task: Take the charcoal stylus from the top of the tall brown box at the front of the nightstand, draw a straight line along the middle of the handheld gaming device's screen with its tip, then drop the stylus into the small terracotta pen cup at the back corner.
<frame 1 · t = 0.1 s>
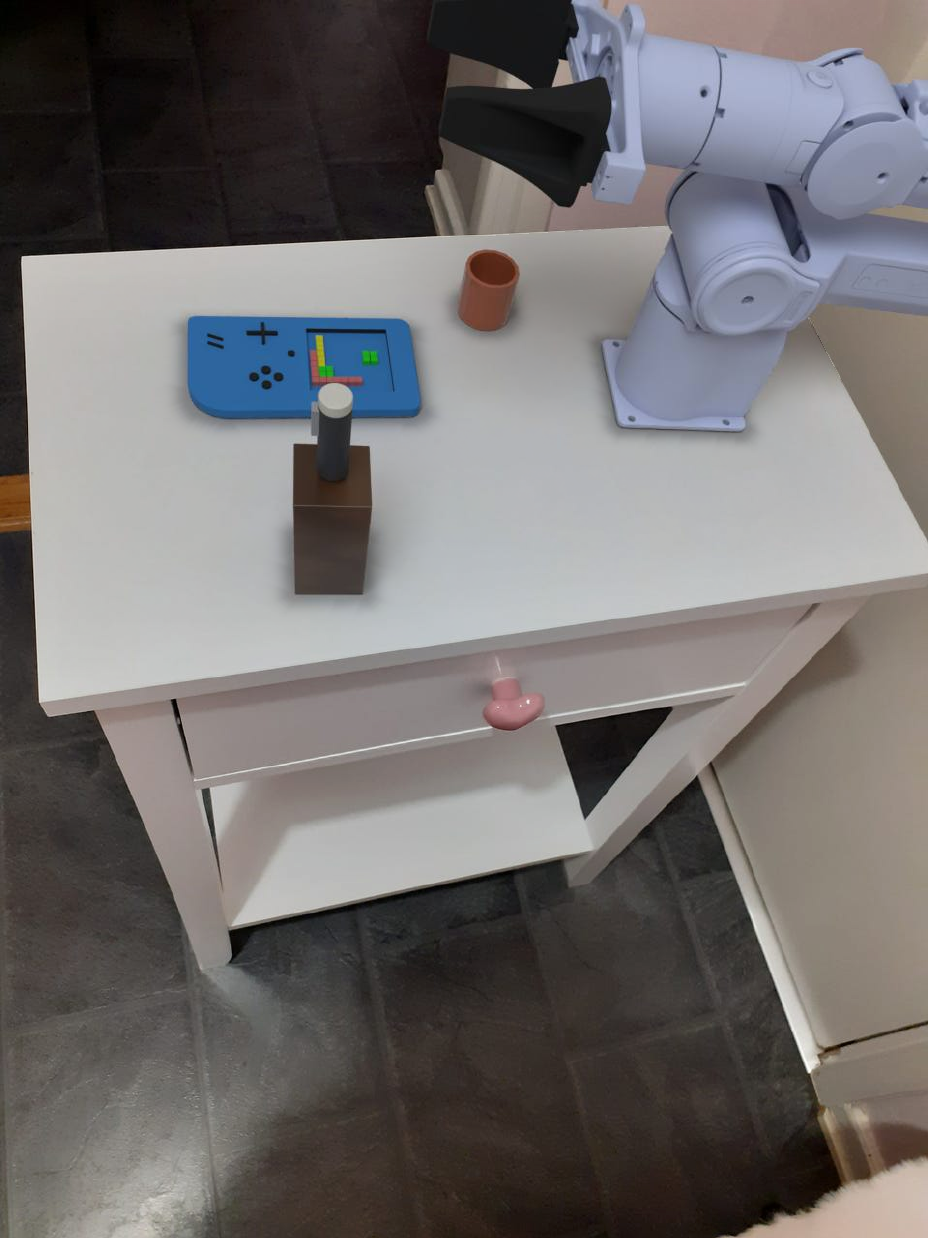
hand: (436, 63, 45), 22 cm above the table, tool horizontal, fingers open, 7 cm apart
pen cup: (483, 312, 68), on the table
stylus: (332, 474, 48), point 9 cm above the table, touching tall brown box
handheld gaming device: (304, 372, 63), on the table
tall brown box: (328, 566, 56), on the table
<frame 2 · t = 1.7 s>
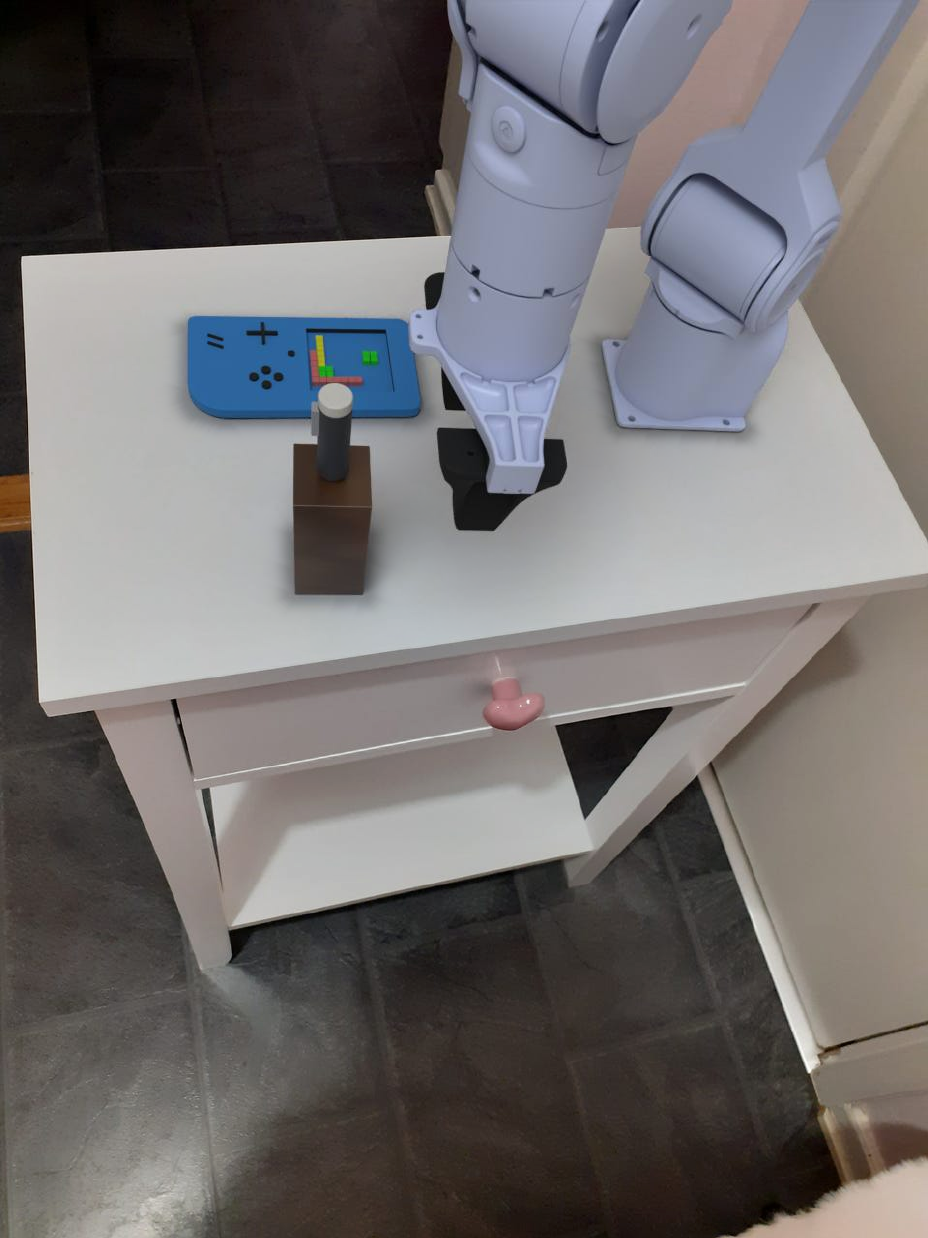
hand: (469, 463, 48), 10 cm above the table, tool pointing down, fingers open, 7 cm apart
nothing on the table moved.
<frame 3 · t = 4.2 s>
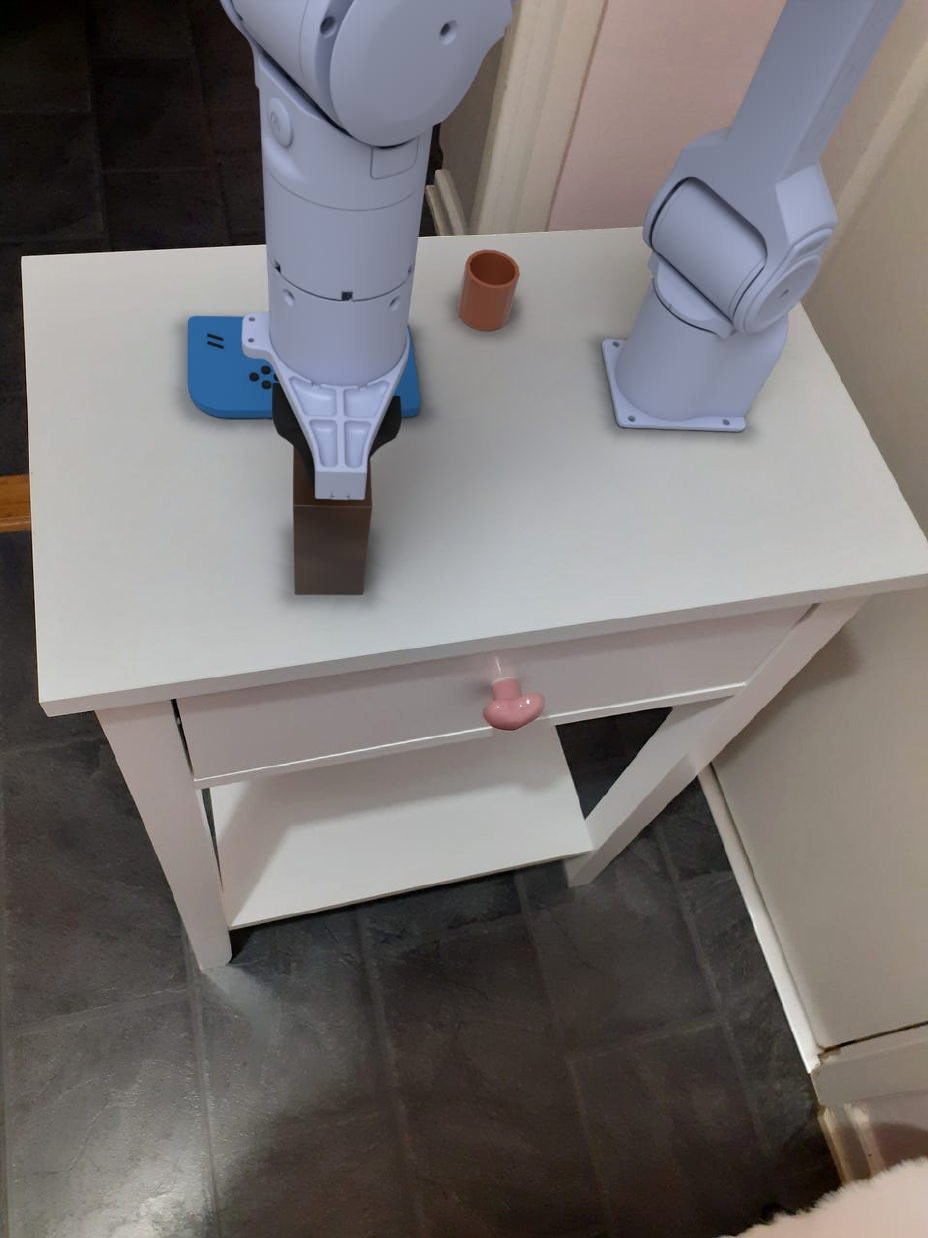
hand: (332, 467, 47), 10 cm above the table, tool pointing down, fingers closed on stylus, 1 cm apart
stylus: (332, 475, 48), point 9 cm above the table, touching gripper, tall brown box
everything else where it was.
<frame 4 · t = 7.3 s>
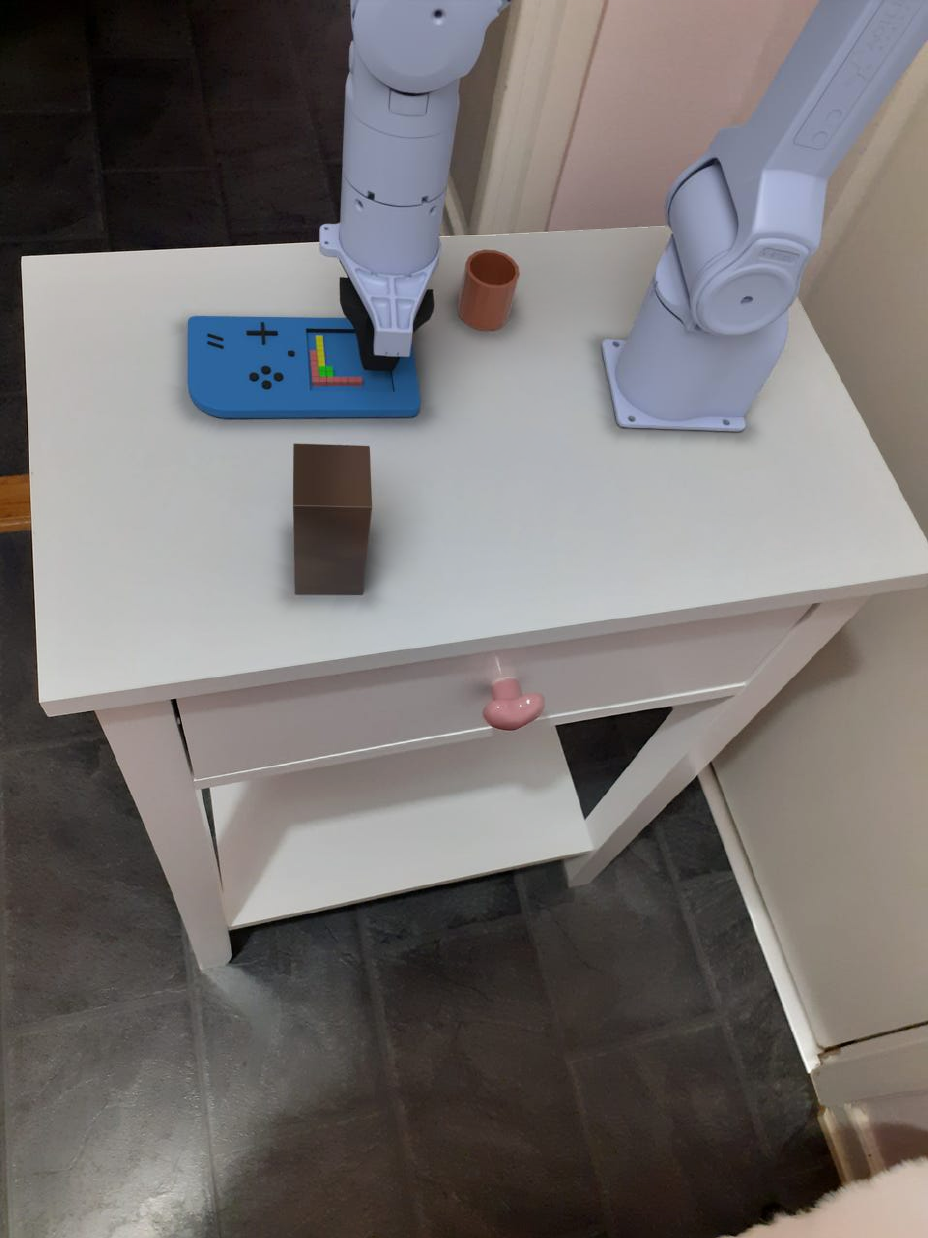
hand: (378, 354, 62), 2 cm above the table, tool pointing down, fingers closed on stylus, 1 cm apart
stylus: (376, 360, 62), point 1 cm above the table, touching gripper
everything else where it was.
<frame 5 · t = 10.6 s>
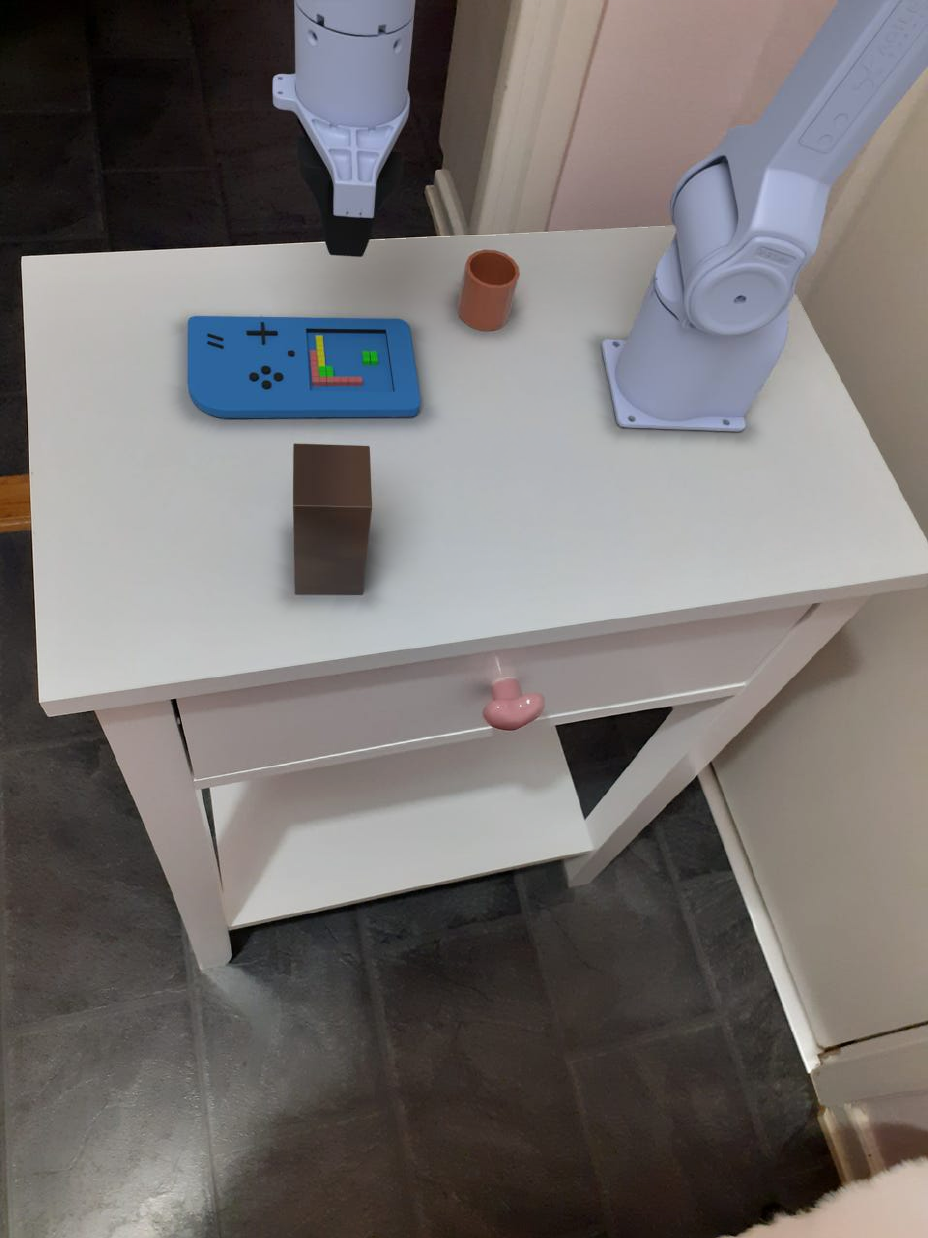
hand: (345, 239, 56), 9 cm above the table, tool pointing down, fingers closed on stylus, 1 cm apart
stylus: (343, 247, 56), point 9 cm above the table, touching gripper
everything else where it was.
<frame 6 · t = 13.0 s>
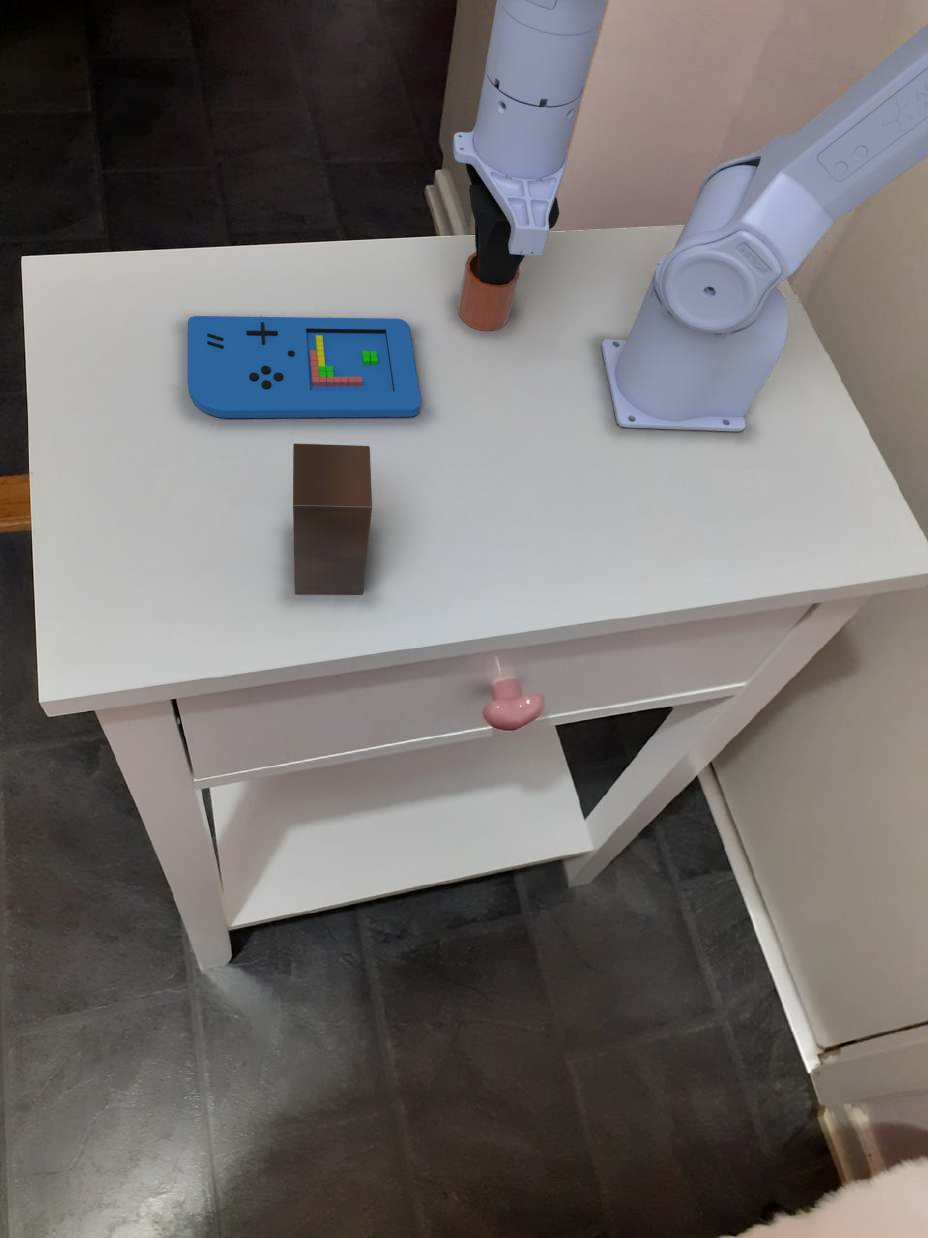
hand: (492, 268, 64), 4 cm above the table, tool pointing down, fingers closed, pressing on pen cup, stylus
stylus: (490, 275, 65), point 3 cm above the table, touching gripper
everything else where it was.
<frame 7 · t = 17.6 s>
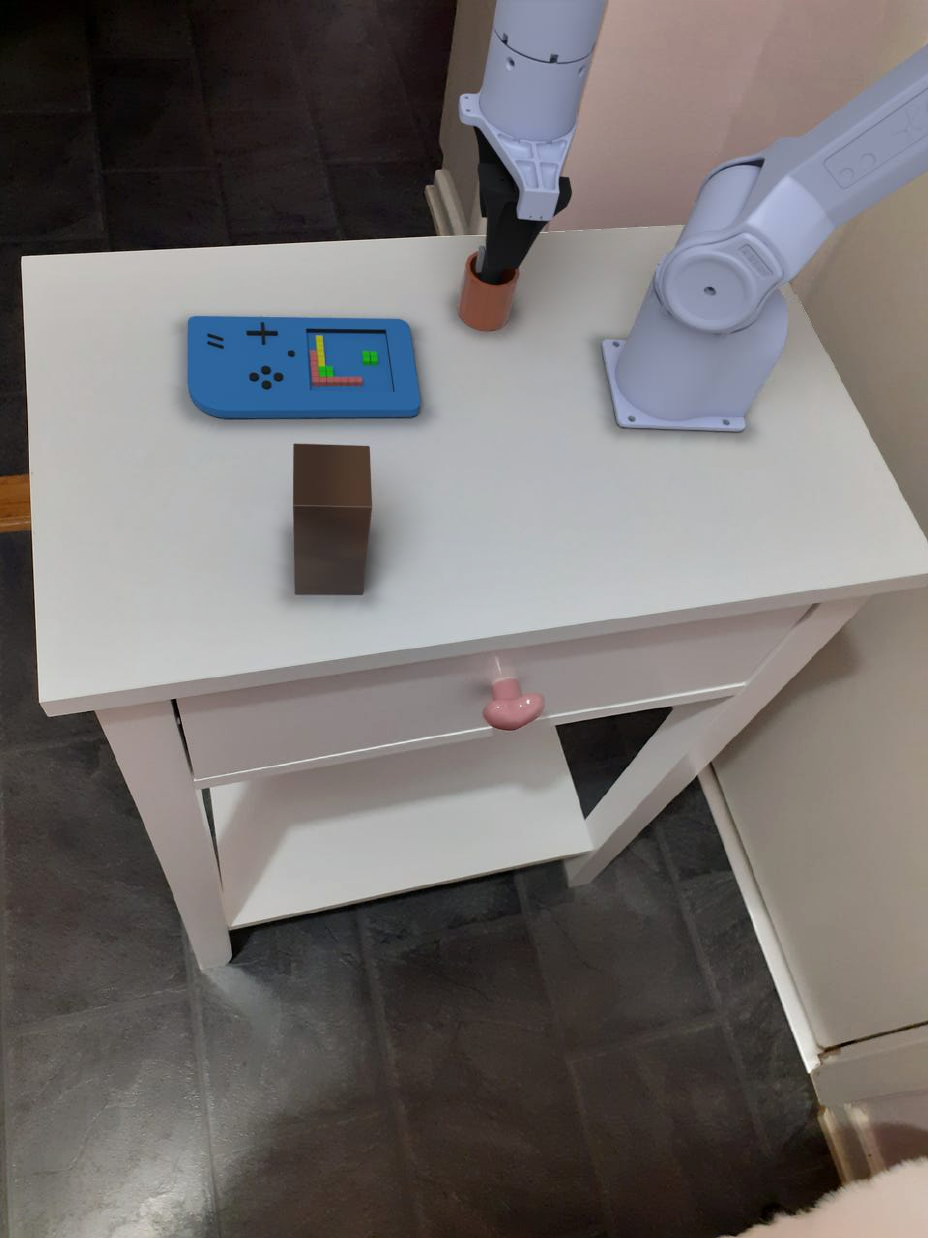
hand: (499, 239, 62), 6 cm above the table, tool pointing down, fingers open, 4 cm apart
stylus: (482, 307, 67), resting on pen cup
everything else where it was.
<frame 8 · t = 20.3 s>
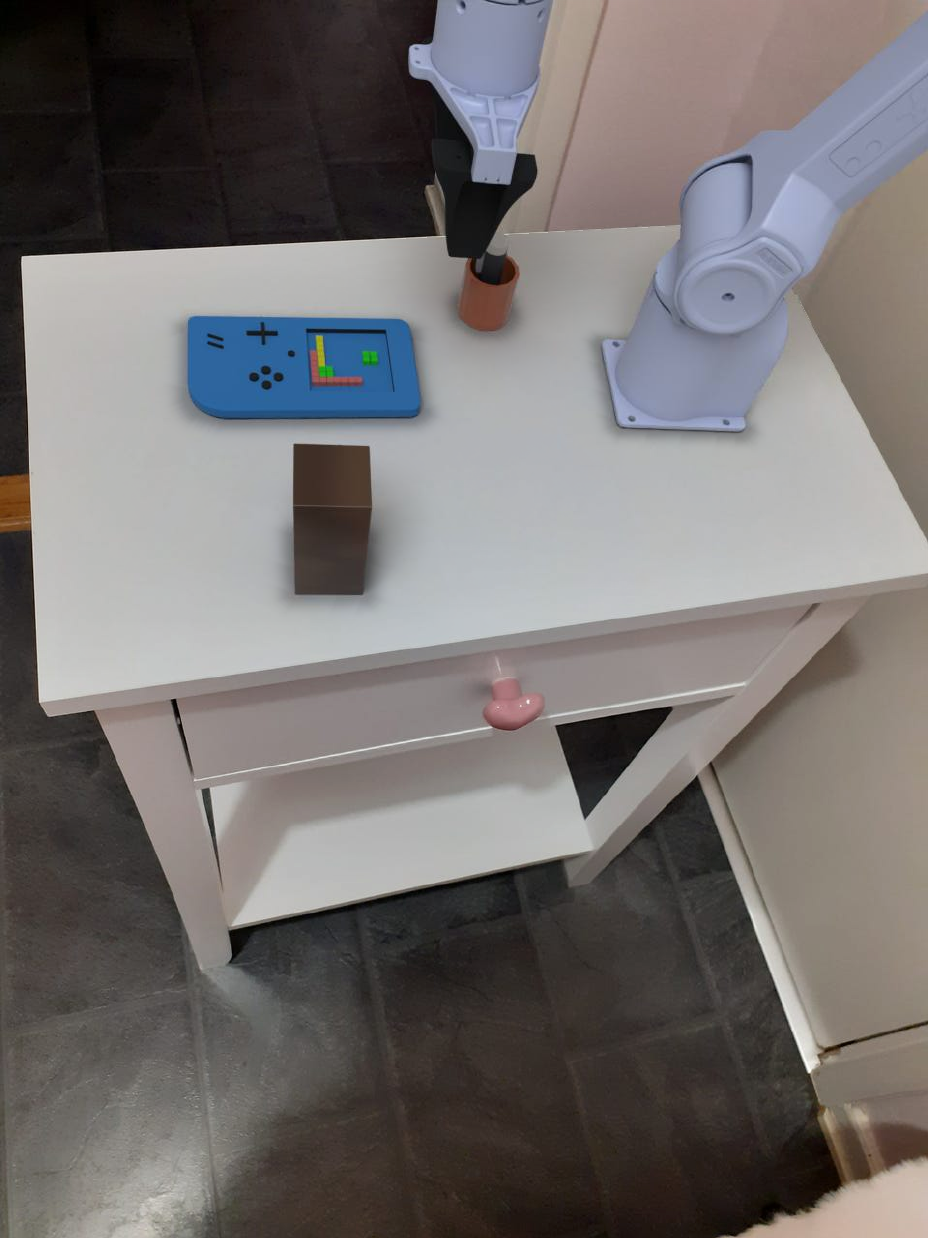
hand: (459, 210, 57), 10 cm above the table, tool pointing down, fingers open, 7 cm apart
nothing on the table moved.
at the end: stylus 0.1 cm off-centre in the pen cup, point 0.4 cm above the pen cup's base; the gripper is holding nothing; handheld gaming device moved 0.1 cm from its start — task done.
